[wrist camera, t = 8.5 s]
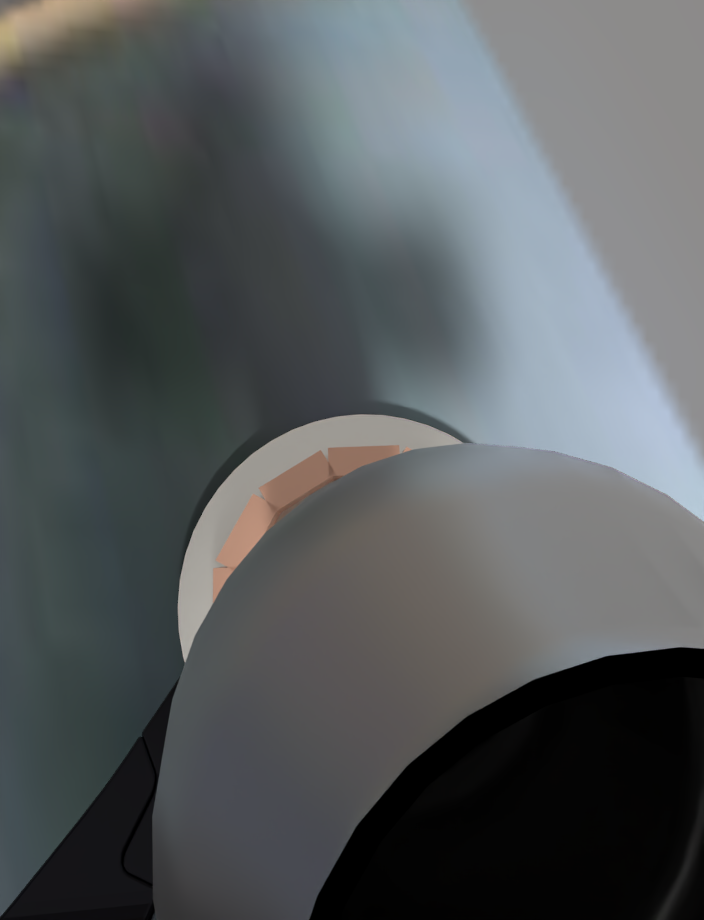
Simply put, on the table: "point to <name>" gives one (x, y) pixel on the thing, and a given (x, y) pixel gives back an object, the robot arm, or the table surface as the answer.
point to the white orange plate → (282, 496)
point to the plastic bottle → (446, 704)
